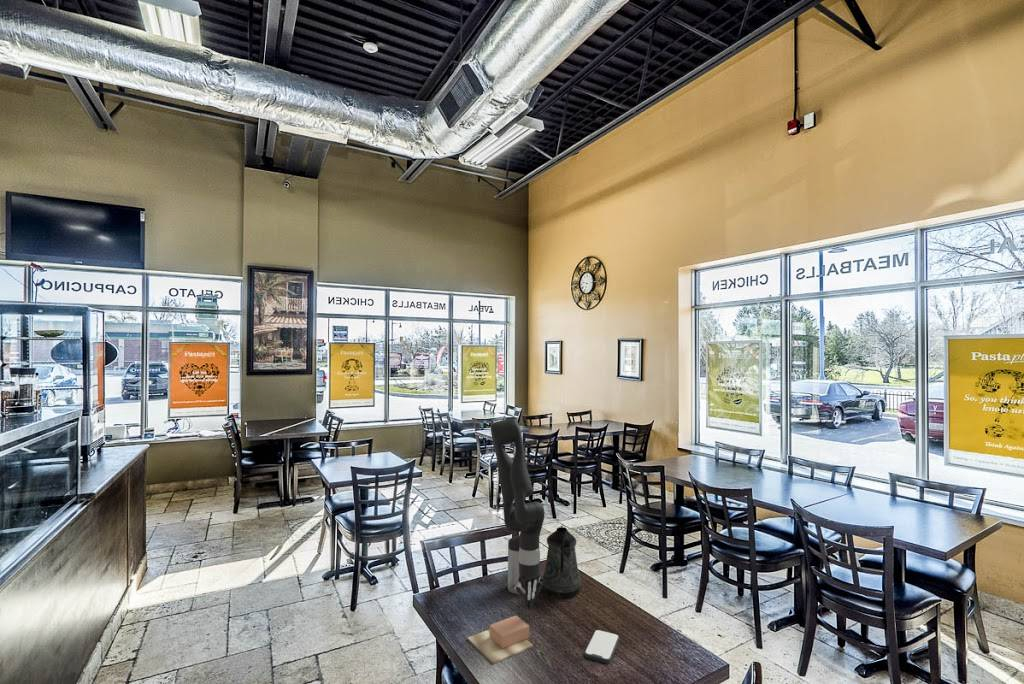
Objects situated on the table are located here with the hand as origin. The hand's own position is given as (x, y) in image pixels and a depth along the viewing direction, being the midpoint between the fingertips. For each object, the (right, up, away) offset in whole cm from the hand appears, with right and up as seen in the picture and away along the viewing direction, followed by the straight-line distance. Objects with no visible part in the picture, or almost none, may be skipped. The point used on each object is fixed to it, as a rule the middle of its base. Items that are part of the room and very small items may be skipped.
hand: (529, 608), depth 173 cm
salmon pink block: (-2, -5, -2) cm, 6 cm away
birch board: (-10, -8, -7) cm, 15 cm away
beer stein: (+15, -9, +30) cm, 34 cm away
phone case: (+24, -9, -9) cm, 27 cm away
